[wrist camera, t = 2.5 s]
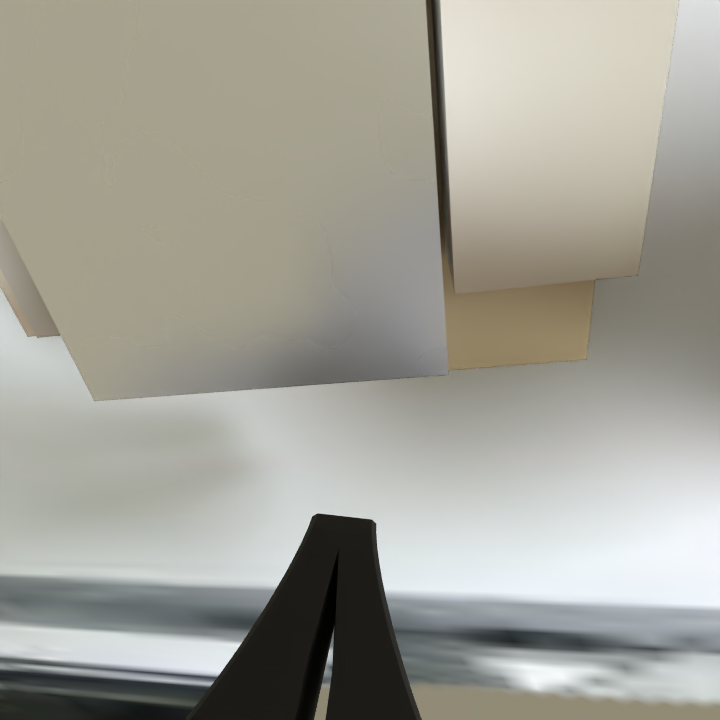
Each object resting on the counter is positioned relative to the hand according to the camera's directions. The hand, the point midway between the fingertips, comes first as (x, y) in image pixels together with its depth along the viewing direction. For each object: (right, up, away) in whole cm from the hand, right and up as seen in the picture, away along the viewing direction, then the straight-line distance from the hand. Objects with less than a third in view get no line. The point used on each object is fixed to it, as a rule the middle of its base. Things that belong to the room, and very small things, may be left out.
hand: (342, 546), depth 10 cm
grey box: (-2, +9, -1) cm, 9 cm away
